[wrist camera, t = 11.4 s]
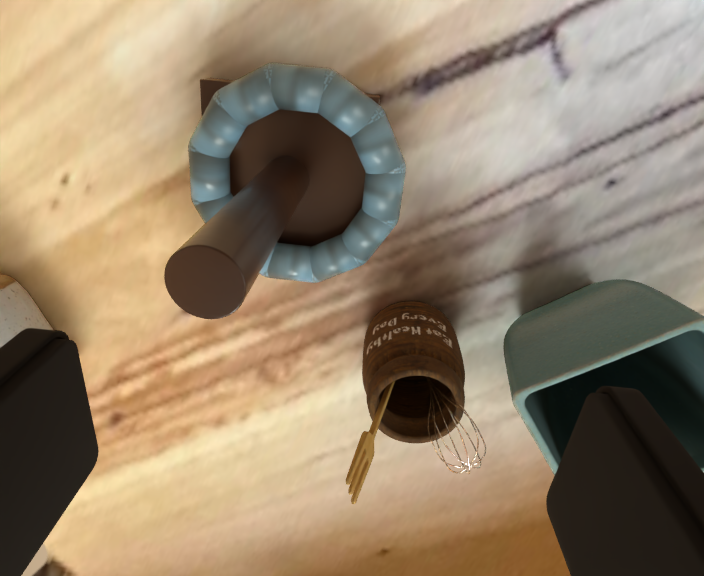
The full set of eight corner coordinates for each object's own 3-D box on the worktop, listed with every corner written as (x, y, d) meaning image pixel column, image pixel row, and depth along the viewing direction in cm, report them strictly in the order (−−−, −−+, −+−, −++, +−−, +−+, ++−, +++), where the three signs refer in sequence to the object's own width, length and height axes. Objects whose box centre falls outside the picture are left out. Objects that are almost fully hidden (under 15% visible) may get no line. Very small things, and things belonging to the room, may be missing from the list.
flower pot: (474, 305, 30) (508, 397, 22) (615, 238, 27) (713, 315, 19) (529, 402, 33) (576, 515, 25) (660, 350, 30) (760, 457, 22)
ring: (202, 261, 28) (190, 275, 26) (191, 53, 23) (175, 53, 21) (388, 281, 28) (389, 297, 26) (417, 76, 23) (420, 78, 21)
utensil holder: (460, 367, 32) (499, 527, 21) (368, 379, 33) (361, 538, 22) (450, 290, 29) (489, 426, 19) (351, 305, 30) (334, 443, 19)
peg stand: (216, 238, 29) (77, 389, 16) (209, 77, 25) (16, 102, 12) (362, 254, 29) (345, 420, 16) (380, 95, 25) (376, 140, 12)
